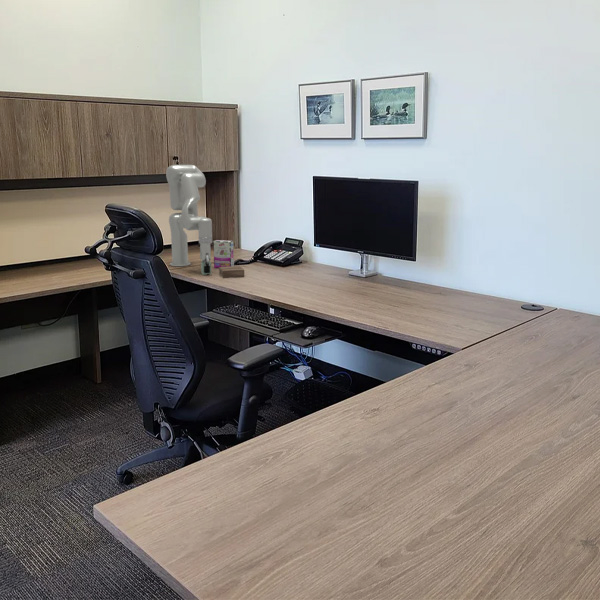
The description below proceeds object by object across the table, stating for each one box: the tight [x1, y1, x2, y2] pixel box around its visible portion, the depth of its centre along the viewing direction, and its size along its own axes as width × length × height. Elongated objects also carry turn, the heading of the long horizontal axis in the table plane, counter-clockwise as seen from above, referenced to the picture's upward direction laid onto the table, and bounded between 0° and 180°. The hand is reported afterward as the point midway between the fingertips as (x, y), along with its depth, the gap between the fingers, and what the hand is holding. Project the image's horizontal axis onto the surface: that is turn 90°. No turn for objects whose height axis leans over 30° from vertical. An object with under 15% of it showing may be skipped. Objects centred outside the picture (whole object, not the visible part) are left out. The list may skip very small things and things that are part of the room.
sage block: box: [200, 260, 212, 276], centre depth 355 cm, size 5×5×7 cm
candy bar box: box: [212, 239, 235, 269], centre depth 371 cm, size 11×5×16 cm, turn 73°
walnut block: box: [218, 265, 245, 279], centre depth 352 cm, size 12×12×4 cm
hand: (206, 271), depth 355 cm, fingers open, 5 cm apart
